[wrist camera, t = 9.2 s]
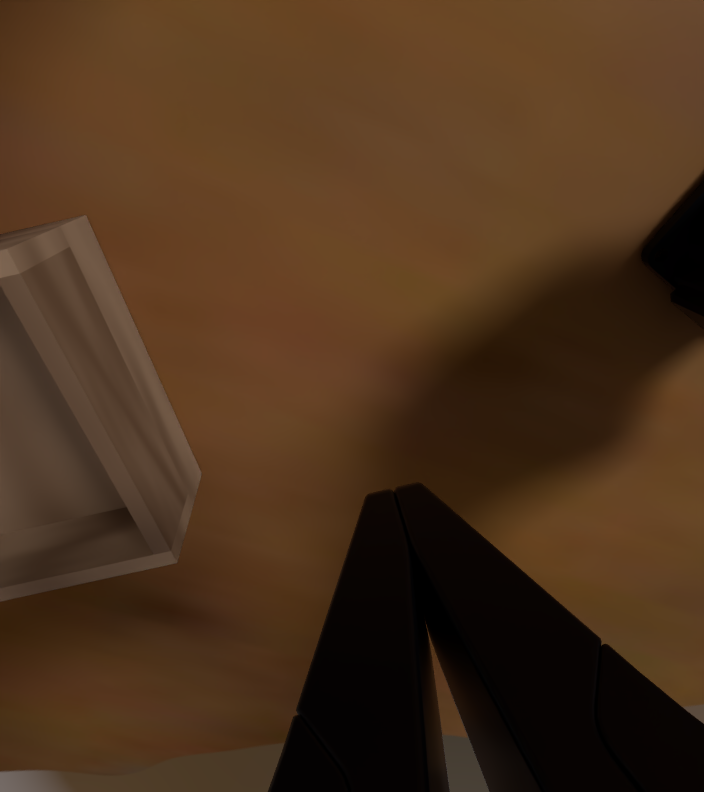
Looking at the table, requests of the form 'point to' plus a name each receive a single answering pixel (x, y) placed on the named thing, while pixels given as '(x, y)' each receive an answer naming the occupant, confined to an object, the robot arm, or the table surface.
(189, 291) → the table surface
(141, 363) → the tray
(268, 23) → the table surface
